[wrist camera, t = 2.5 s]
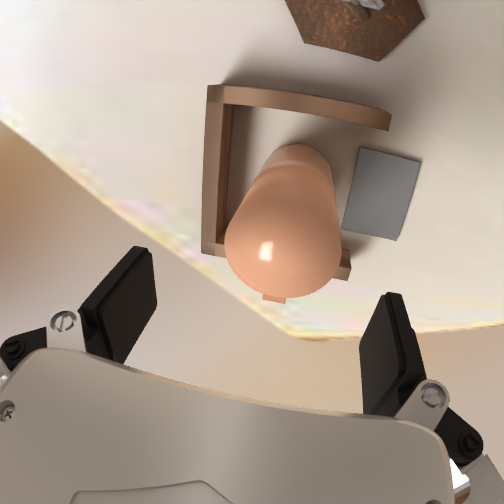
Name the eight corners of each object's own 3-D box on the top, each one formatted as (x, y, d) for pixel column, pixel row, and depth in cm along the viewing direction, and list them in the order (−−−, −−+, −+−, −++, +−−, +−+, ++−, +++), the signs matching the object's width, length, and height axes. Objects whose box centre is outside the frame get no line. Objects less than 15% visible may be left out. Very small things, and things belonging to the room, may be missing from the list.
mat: (419, 162, 20) (420, 163, 20) (395, 239, 24) (396, 240, 24) (359, 146, 21) (360, 147, 21) (341, 227, 25) (341, 229, 24)
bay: (382, 110, 19) (391, 114, 17) (345, 261, 26) (347, 280, 24) (219, 84, 20) (207, 85, 18) (211, 236, 28) (201, 253, 25)
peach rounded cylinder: (338, 151, 22) (354, 209, 12) (319, 237, 26) (316, 333, 17) (266, 138, 22) (227, 186, 13) (256, 226, 26) (220, 314, 17)
